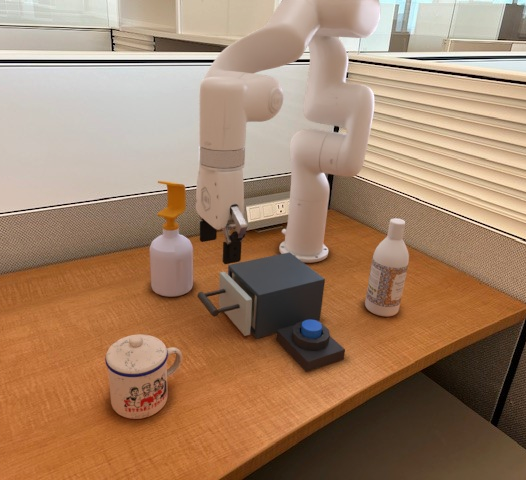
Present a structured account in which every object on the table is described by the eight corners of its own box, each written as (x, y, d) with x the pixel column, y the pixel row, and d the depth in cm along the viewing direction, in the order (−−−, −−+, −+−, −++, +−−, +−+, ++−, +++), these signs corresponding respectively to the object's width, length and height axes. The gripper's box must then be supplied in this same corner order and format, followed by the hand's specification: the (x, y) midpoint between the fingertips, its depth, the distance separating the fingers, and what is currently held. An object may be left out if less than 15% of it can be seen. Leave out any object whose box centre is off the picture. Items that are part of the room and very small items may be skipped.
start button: (297, 330, 87) (297, 322, 86) (313, 325, 88) (314, 317, 87) (308, 341, 84) (309, 333, 83) (325, 336, 85) (326, 328, 85)
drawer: (216, 344, 86) (217, 307, 83) (192, 312, 95) (192, 277, 92) (304, 319, 95) (308, 285, 91) (275, 291, 104) (277, 259, 100)
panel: (276, 339, 90) (277, 321, 88) (311, 329, 93) (313, 311, 92) (306, 372, 82) (308, 353, 80) (343, 359, 85) (346, 341, 84)
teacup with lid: (124, 430, 69) (118, 366, 64) (100, 393, 75) (93, 332, 70) (196, 397, 75) (196, 336, 70) (168, 365, 82) (166, 308, 77)
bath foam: (382, 321, 97) (400, 230, 88) (357, 305, 102) (371, 218, 93) (405, 311, 100) (424, 223, 92) (379, 296, 105) (395, 211, 97)
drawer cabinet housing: (256, 339, 90) (259, 295, 86) (226, 305, 100) (228, 264, 96) (319, 320, 96) (325, 278, 92) (286, 290, 106) (289, 252, 102)
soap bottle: (143, 292, 103) (137, 183, 93) (165, 273, 111) (161, 171, 101) (180, 301, 100) (178, 190, 90) (199, 282, 108) (200, 177, 98)
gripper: (181, 146, 84) (181, 235, 91) (224, 173, 70) (221, 276, 77) (219, 143, 87) (217, 230, 94) (268, 168, 73) (261, 267, 80)
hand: (219, 250), depth 85 cm, fingers open, 9 cm apart
